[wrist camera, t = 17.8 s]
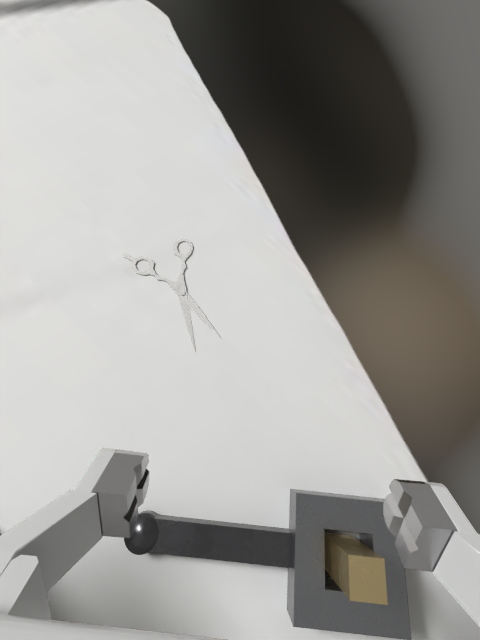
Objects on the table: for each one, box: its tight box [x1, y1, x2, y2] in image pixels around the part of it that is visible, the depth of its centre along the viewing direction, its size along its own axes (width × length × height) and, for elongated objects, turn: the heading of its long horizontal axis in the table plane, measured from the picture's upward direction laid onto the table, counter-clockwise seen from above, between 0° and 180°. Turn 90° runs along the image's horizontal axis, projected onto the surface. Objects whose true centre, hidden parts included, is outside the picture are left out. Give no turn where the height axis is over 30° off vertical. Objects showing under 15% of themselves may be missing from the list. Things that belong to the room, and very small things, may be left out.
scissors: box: [123, 239, 221, 352], centre depth 46 cm, size 11×1×20 cm
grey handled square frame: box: [124, 489, 411, 640], centre depth 32 cm, size 11×29×4 cm, turn 84°
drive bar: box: [324, 533, 388, 605], centre depth 30 cm, size 3×3×8 cm
